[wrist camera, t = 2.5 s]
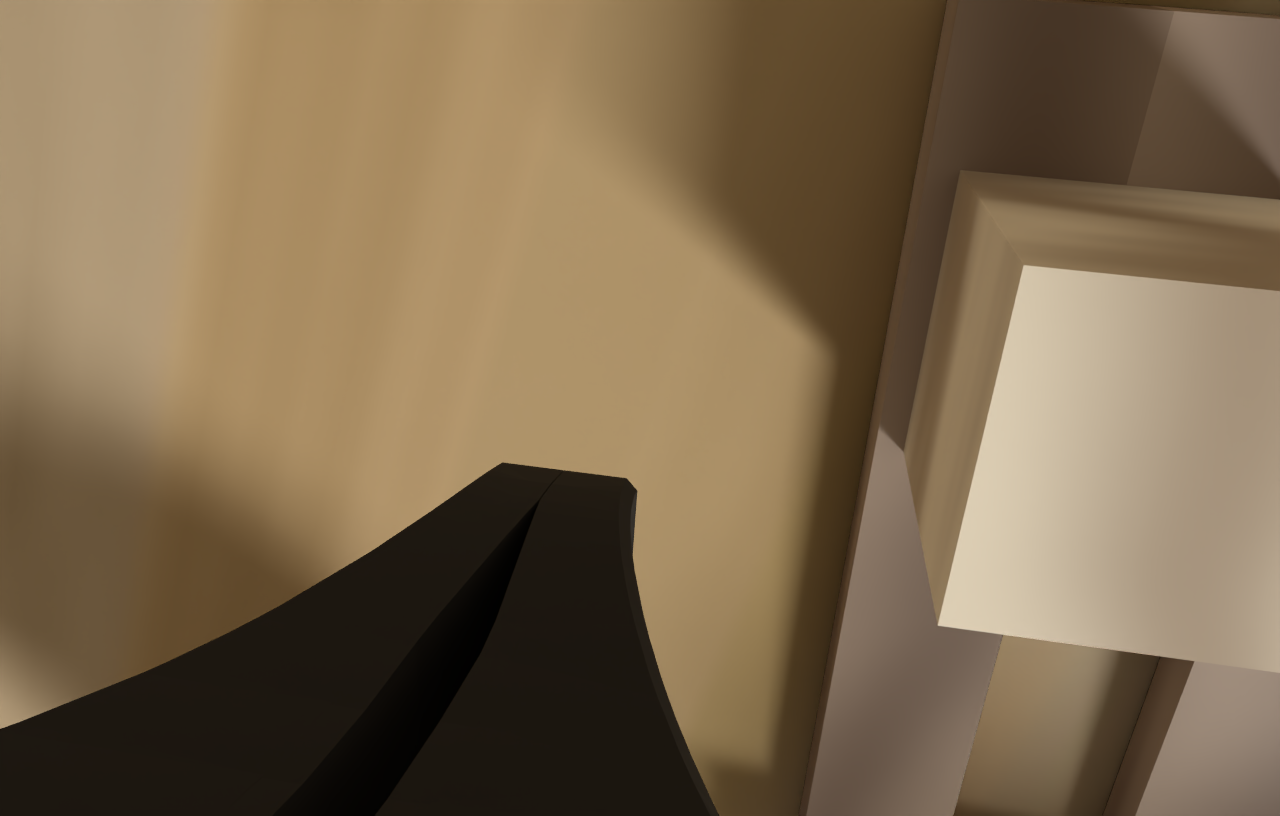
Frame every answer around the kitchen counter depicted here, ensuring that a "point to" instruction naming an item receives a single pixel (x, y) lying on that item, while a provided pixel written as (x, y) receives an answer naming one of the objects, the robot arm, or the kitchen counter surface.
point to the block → (1104, 419)
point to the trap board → (884, 511)
